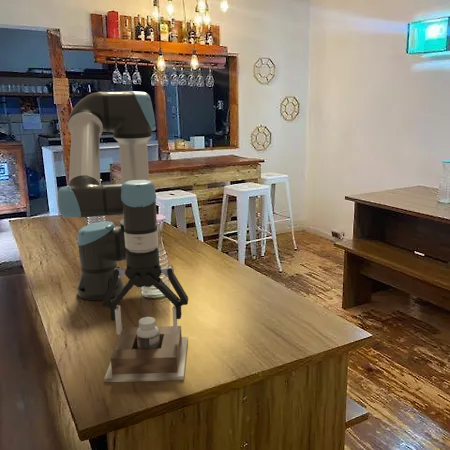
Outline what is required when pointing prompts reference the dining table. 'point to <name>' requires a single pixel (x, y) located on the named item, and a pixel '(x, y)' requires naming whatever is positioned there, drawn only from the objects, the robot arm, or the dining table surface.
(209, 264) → the dining table surface
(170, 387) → the dining table surface
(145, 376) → the socket block
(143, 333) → the pill bottle
